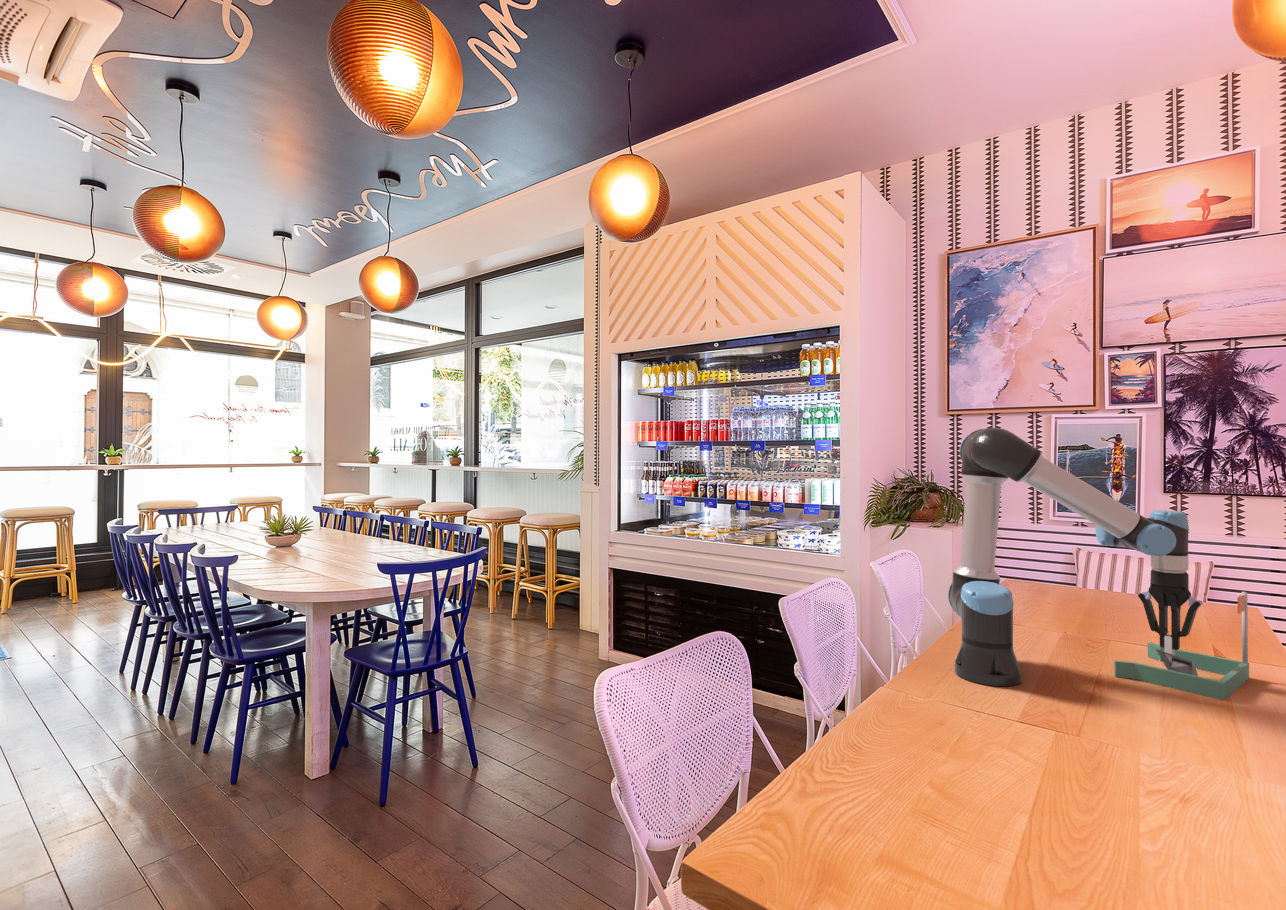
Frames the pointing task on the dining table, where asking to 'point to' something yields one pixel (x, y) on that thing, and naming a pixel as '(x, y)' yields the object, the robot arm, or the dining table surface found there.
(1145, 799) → the dining table surface
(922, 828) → the dining table surface
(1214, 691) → the green u-shaped frame
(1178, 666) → the paper boat
